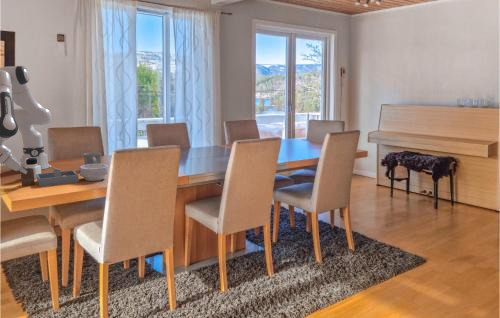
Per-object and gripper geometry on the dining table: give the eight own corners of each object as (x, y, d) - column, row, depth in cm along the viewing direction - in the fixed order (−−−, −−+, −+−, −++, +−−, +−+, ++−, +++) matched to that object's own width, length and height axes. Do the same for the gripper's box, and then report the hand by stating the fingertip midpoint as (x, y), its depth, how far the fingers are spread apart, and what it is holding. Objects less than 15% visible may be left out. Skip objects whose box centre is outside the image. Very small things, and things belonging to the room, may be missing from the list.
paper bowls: (106, 181, 236) (105, 168, 234) (77, 183, 233) (76, 168, 232) (110, 176, 251) (109, 162, 249) (83, 177, 248) (82, 163, 247)
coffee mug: (85, 168, 274) (84, 152, 272) (101, 167, 277) (100, 152, 275) (83, 172, 261) (82, 156, 259) (100, 171, 264) (99, 155, 262)
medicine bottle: (41, 177, 248) (40, 157, 246) (36, 180, 241) (34, 159, 239) (29, 177, 248) (27, 157, 245) (23, 180, 241) (21, 159, 238)
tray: (36, 181, 236) (35, 166, 235) (74, 177, 246) (73, 163, 245) (39, 187, 224) (38, 171, 222) (78, 182, 234) (77, 167, 232)
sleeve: (21, 185, 229) (20, 169, 227) (34, 183, 232) (32, 167, 230) (22, 187, 224) (20, 170, 222) (35, 185, 227) (33, 169, 225)
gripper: (-3, 156, 227) (20, 172, 234) (-2, 162, 210) (22, 179, 216) (6, 147, 228) (28, 163, 235) (8, 153, 211) (31, 170, 218)
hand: (25, 171), depth 226 cm, fingers open, 8 cm apart
